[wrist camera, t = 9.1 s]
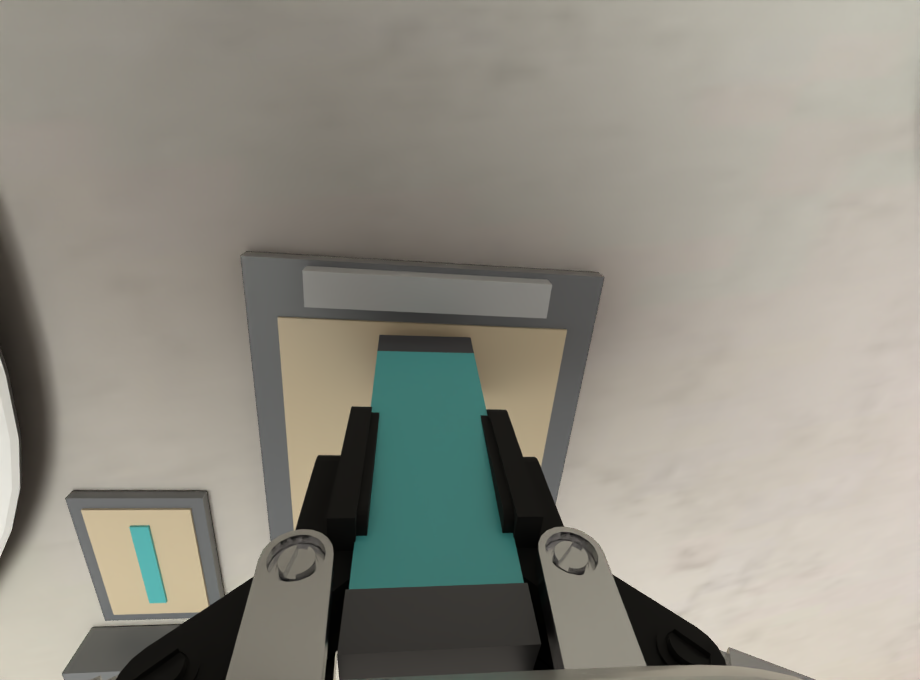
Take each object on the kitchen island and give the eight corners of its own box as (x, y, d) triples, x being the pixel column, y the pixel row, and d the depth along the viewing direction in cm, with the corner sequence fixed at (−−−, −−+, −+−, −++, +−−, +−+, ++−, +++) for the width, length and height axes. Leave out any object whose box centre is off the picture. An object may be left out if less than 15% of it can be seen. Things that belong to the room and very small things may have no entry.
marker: (377, 333, 15) (337, 655, 7) (472, 336, 15) (541, 645, 7) (378, 408, 17) (345, 744, 8) (463, 409, 17) (512, 731, 9)
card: (72, 491, 18) (61, 502, 18) (206, 491, 19) (200, 501, 18) (110, 612, 21) (102, 624, 20) (226, 609, 22) (221, 621, 21)
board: (246, 251, 15) (233, 260, 14) (597, 272, 17) (611, 282, 15) (283, 621, 22) (277, 646, 21) (526, 613, 24) (532, 636, 23)
